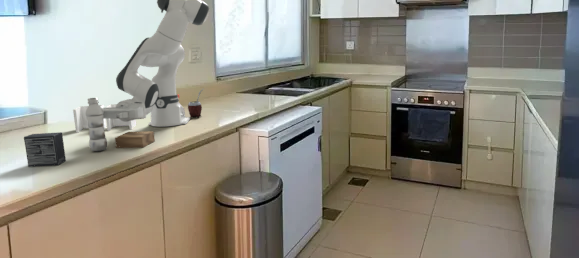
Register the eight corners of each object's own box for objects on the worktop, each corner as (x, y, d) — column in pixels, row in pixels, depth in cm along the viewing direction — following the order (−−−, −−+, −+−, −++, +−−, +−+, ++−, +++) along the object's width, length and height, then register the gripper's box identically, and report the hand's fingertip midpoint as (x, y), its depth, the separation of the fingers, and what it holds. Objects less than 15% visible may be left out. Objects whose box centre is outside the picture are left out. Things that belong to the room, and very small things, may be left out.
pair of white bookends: (136, 125, 234) (133, 103, 232) (131, 129, 224) (129, 106, 222) (83, 128, 231) (80, 106, 229) (76, 133, 221) (73, 109, 218)
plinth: (129, 141, 195) (128, 131, 194) (154, 141, 194) (153, 131, 193) (116, 147, 185) (114, 137, 184) (143, 147, 183) (141, 136, 182)
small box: (67, 160, 168) (63, 131, 166) (59, 165, 161) (54, 135, 159) (36, 162, 168) (32, 133, 166) (27, 167, 161) (22, 136, 159)
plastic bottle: (88, 153, 177) (82, 100, 173) (91, 149, 183) (84, 98, 179) (107, 151, 178) (101, 98, 175) (109, 148, 185) (102, 96, 181)
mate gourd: (186, 117, 250) (184, 88, 248) (200, 115, 255) (197, 87, 252) (192, 118, 245) (190, 89, 242) (206, 116, 249) (204, 88, 246)
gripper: (104, 103, 200) (82, 108, 187) (148, 102, 195) (129, 107, 182) (105, 118, 201) (84, 124, 188) (149, 117, 196) (131, 124, 183)
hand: (107, 116), depth 185 cm, fingers open, 8 cm apart
